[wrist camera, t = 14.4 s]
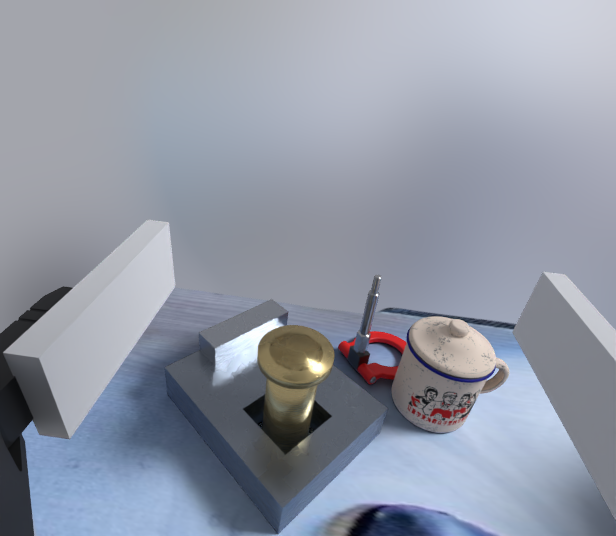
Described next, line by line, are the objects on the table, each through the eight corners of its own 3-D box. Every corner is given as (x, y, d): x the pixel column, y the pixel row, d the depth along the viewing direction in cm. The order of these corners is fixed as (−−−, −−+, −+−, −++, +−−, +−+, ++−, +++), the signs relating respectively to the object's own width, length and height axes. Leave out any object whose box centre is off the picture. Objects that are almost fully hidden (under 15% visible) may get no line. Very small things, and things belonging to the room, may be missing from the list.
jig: (379, 433, 40) (394, 391, 36) (278, 534, 31) (285, 490, 27) (268, 339, 50) (271, 299, 46) (167, 394, 41) (162, 349, 37)
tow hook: (387, 332, 54) (332, 347, 50) (410, 251, 48) (350, 259, 44) (429, 371, 48) (371, 392, 44) (461, 284, 42) (397, 297, 38)
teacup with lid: (397, 434, 40) (429, 352, 34) (382, 369, 48) (405, 293, 42) (506, 441, 41) (556, 363, 35) (474, 376, 49) (510, 303, 43)
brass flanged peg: (328, 442, 38) (350, 355, 32) (281, 484, 34) (294, 394, 28) (286, 401, 42) (297, 316, 36) (238, 435, 38) (241, 345, 31)
